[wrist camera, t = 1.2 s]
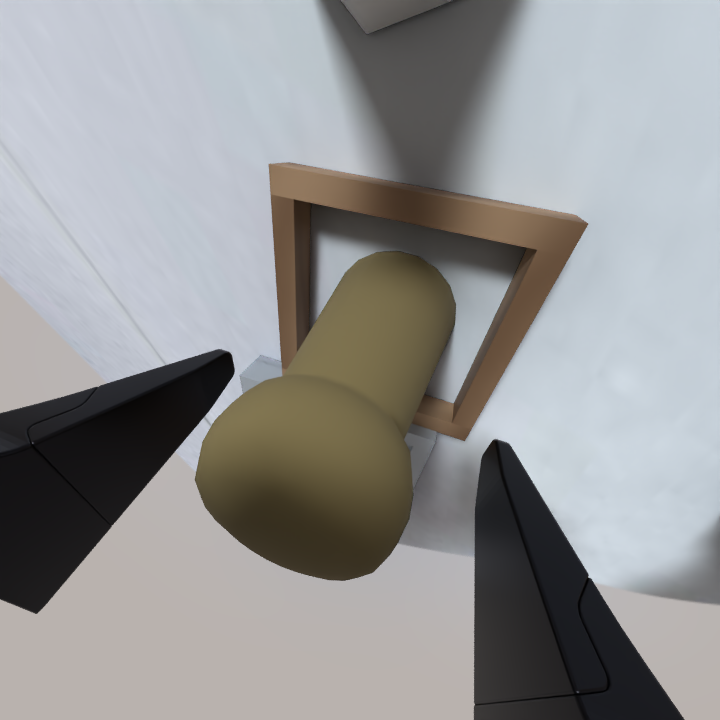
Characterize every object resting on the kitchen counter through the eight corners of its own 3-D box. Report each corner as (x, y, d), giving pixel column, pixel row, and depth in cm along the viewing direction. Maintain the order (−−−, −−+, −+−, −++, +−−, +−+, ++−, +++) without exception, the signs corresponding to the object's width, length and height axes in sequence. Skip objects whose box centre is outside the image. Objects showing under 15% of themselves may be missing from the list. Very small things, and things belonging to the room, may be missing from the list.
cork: (398, 380, 17) (316, 617, 8) (315, 312, 16) (130, 500, 7) (485, 314, 13) (499, 626, 4) (384, 219, 12) (164, 388, 4)
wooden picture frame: (575, 214, 10) (588, 223, 9) (465, 420, 17) (464, 441, 16) (289, 162, 12) (268, 164, 11) (294, 366, 19) (282, 380, 18)
